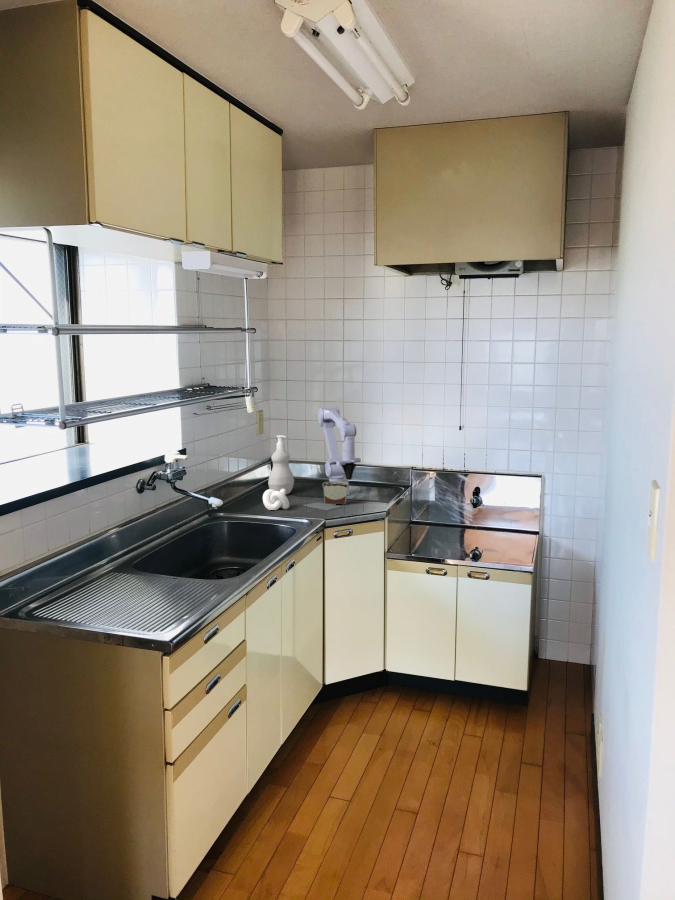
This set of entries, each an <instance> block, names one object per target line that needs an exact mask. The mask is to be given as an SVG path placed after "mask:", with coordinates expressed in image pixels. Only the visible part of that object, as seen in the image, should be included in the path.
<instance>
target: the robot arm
mask: <svg viewBox="0 0 675 900" xmlns="http://www.w3.org/2000/svg"><path fill="white" fill-rule="evenodd" d="M340 414H341V412H340V409H339V407H337V406H336V407H320V408H319V409H318V410H317V420H318V424H319V427H321V428H322V431H323V435H324V439H325V440H324V441H325V444H326V449H327V455H328V458H329V459H328V460H327V461H326V462H325V464H324V466H325V469H324V470H325V475H326V477H327V478H328V479H329V480H328V482H329V481H339V482H346V483H348V486H349V487H350V485H349V484H350V481H349V480H352V477H353V474H354V471H355V469H356V468H357V463H362V461H361V458H360V457H355V455H356V454H355V453H356V452H355V449H356V447H355V445H356V443H355V437H357V431H358V430H357V426H356V425H355V423H353V424H351V423H350V422H349V421H348V420H347V419H346V418H345V416H343V417H342V416H341V415H340ZM335 427H336V428H337V430H339V435H340V441H341V443H342V445H341V446H342V447H341V448H342V449H341V450H342V452H341V453H342V454H341V455H342V457H340V454H339V451H338V444H337V441H336V437H335V436H336V435H335V431H334V428H335ZM349 489H350V488H348V487H347V494H346V496H349V495H350V494H351V493H350V490H349Z"/></svg>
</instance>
